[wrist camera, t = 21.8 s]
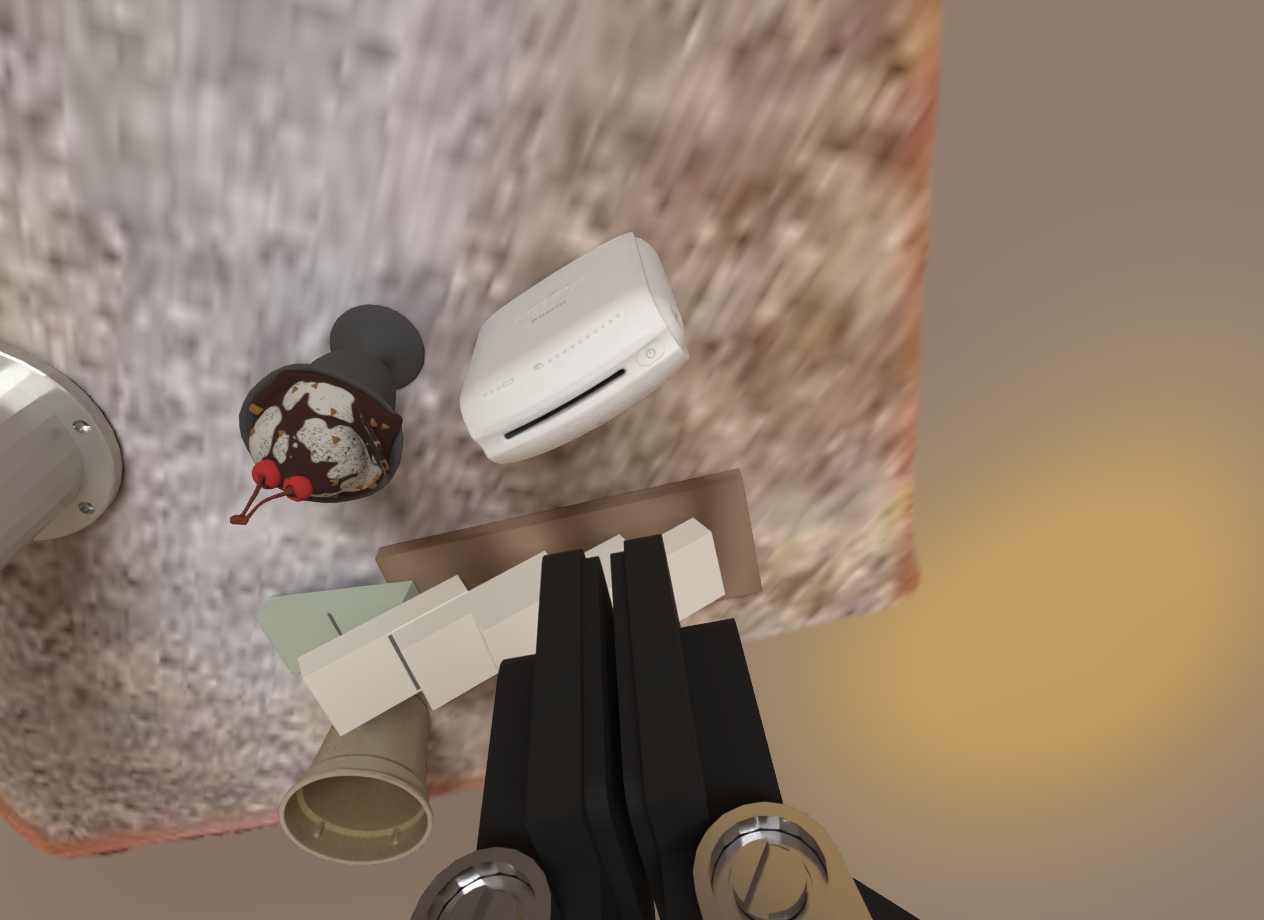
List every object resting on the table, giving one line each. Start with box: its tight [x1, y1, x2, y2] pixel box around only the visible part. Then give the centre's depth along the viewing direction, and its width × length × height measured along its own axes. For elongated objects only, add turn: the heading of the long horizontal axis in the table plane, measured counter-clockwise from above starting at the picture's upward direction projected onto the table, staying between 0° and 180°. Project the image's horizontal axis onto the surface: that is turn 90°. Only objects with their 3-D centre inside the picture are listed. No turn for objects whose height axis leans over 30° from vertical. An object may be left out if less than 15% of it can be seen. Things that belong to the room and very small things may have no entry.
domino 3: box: [471, 534, 625, 672], centre depth 45 cm, size 2×5×10 cm
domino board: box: [375, 469, 762, 601], centre depth 48 cm, size 23×9×1 cm, turn 103°
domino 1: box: [298, 575, 468, 736], centre depth 45 cm, size 2×5×10 cm
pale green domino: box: [256, 580, 419, 674], centre depth 48 cm, size 2×5×10 cm
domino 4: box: [602, 518, 725, 621], centre depth 45 cm, size 2×5×10 cm
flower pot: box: [279, 695, 433, 865], centre depth 51 cm, size 9×9×9 cm
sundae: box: [230, 305, 424, 525], centre depth 34 cm, size 7×7×15 cm
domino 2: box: [392, 551, 548, 710], centre depth 45 cm, size 2×5×10 cm
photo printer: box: [460, 232, 689, 464], centre depth 34 cm, size 10×4×12 cm, turn 120°
